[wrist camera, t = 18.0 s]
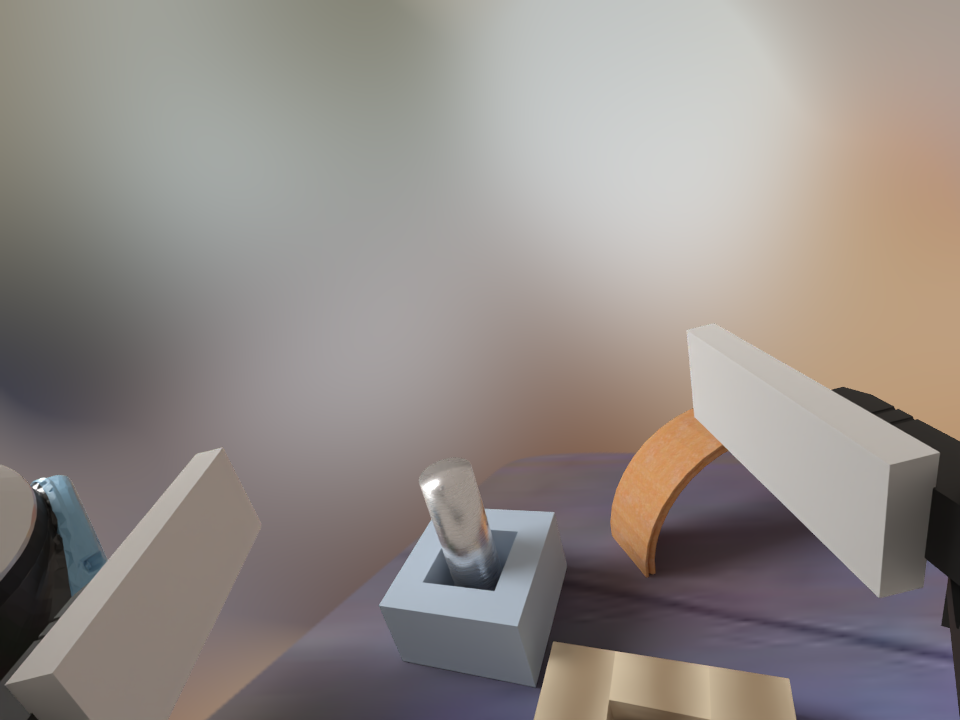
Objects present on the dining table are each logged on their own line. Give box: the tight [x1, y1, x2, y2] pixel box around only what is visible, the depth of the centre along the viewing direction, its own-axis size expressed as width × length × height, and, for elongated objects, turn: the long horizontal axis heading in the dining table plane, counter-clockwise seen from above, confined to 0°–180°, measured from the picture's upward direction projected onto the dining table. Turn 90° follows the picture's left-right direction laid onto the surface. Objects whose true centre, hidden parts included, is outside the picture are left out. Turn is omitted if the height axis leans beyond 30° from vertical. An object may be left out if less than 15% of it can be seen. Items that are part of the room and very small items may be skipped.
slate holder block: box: [379, 509, 567, 687], centre depth 41 cm, size 11×11×6 cm
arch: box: [611, 408, 729, 578], centre depth 44 cm, size 6×20×10 cm, turn 105°
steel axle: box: [419, 458, 503, 591], centre depth 40 cm, size 4×4×14 cm
